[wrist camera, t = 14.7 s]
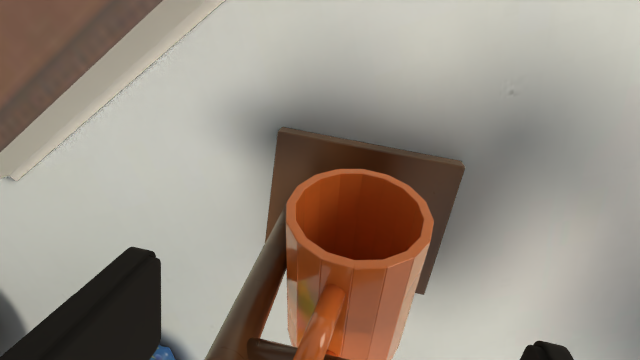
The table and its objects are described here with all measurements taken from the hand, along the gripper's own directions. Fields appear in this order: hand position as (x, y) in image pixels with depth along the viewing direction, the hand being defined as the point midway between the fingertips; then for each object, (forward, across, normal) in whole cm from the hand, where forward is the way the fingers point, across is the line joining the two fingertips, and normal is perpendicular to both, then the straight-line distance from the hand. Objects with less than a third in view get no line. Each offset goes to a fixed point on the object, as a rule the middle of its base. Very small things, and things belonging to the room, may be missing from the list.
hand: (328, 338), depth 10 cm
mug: (+8, -1, +9) cm, 13 cm away
